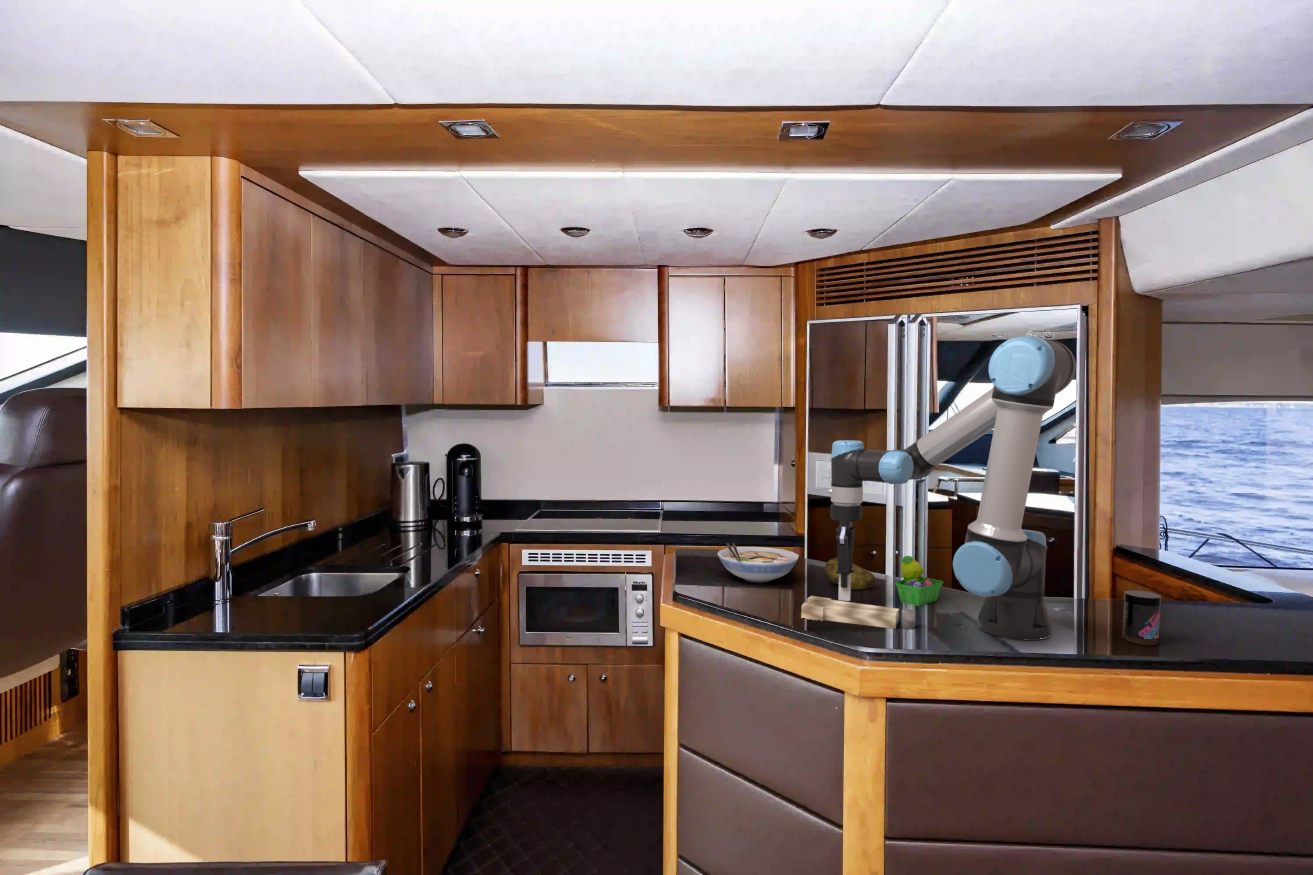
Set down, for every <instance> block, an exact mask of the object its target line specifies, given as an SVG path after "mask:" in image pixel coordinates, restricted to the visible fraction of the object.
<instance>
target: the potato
mask: <svg viewBox="0 0 1313 875" xmlns="http://www.w3.org/2000/svg"><path fill="white" fill-rule="evenodd" d="M852 565H853V567H852V570H854V573H851V590H866V589H867V590H868V589H870V588H872V587H873V586H874V584H875V582H876V579H875V575H874V574H873V573H872V572H871V571H869V570H868V569H864V568H863V567H860V566H858V565H857V564H855V563H854V562H852ZM837 569H838V558H837V557H835V558H830V560H828V561H826V563H825V565H824V570H825V572H826V575H827V577H828V578H829V580H830V581H831V582H833V583H835V584H838V585H839V574H836V571H837Z"/></svg>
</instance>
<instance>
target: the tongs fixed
mask: <svg viewBox="0 0 1313 875" xmlns="http://www.w3.org/2000/svg"><path fill="white" fill-rule="evenodd" d="M800 611H801V614H800V618H801V619H802V618H805V620H810V619H811V620H812V621H818V620H820V622H823V621H829V622H835V623H836V622H837V623H843V624H844V623H845V624H854V625H861V626H862V625H863V626H870V627H878V628H887V629H895V630H896V628H897V624H898V623H897V613H891V612H882V611H874V610H865V609H857V608H848V607H839V606H831V605H822V604H813V603H807V602H806V601H805V602H803V603H802V605H801V610H800ZM915 619H916V610H914V609H909V608H903V609H901V628H903V629H906V630H914V629H915V628H916V627H915V626H916V624H915V621H916V620H915ZM896 623H897V624H896Z"/></svg>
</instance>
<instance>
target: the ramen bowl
mask: <svg viewBox="0 0 1313 875" xmlns="http://www.w3.org/2000/svg"><path fill="white" fill-rule="evenodd" d="M725 545H726V547H727V548H724V549H720V550H719V551H718V552H717V556H718V558H719V560H720V562H721V563H722V565H723V567H724V568H726V570H727V571H729V572H730V573H731V574H733V575H734V576H737V577H738V578H741V579H743V580H745V581H746V582H750V583H754V584H755V583H757V584H760V583H761V584H763V583H770V582H771V581H773V580H777V579H779V578H782V577H784V576H786V575H787V574H788V573H790V572H791V571H792V570H793V567H794V566H795V565H796V564H797V562H798V560H799V556H800V555H799V554H797V553H795V552H793V551H790V550H787V549H783V548H774V547H768V546H767V547H763V546H762V547H761V546H736V543H735V542H732V543H731V545H730V543H729V542H726V544H725ZM731 546H732V547H731Z"/></svg>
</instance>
